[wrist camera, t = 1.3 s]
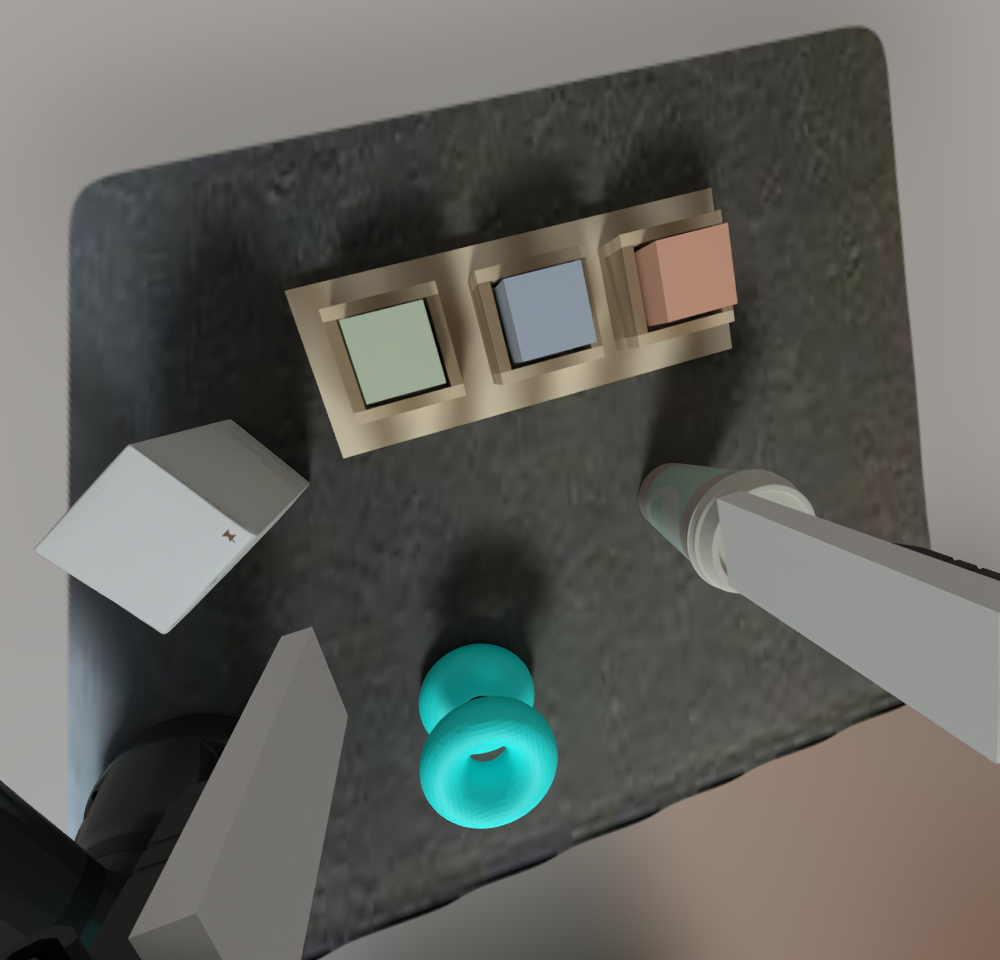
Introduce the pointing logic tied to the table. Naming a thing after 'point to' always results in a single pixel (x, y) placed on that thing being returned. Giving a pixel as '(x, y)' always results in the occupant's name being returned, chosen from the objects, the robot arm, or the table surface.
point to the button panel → (478, 332)
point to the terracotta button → (686, 275)
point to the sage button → (393, 351)
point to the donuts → (483, 738)
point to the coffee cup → (706, 509)
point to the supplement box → (172, 519)
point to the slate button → (545, 312)
